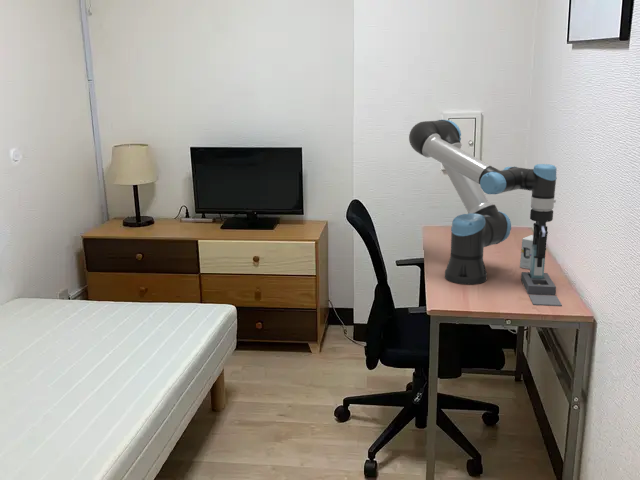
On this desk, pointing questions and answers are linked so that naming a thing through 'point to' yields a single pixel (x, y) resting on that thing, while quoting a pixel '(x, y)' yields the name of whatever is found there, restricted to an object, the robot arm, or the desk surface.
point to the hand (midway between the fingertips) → (536, 273)
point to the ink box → (526, 252)
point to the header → (538, 284)
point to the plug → (534, 263)
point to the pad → (545, 300)
